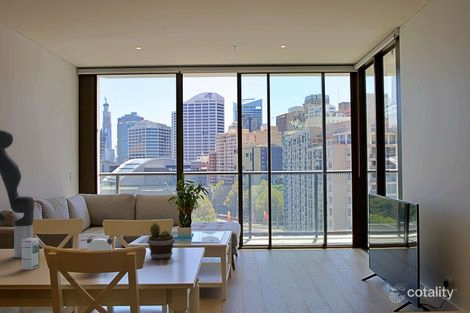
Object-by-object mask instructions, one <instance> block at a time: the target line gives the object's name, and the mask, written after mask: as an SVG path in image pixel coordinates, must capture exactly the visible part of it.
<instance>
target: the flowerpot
mask: <svg viewBox="0 0 470 313" xmlns="http://www.w3.org/2000/svg"><path fill="white" fill-rule="evenodd" d="M160 226H161V225H159V224H158V223H157V222H156V221H153V223H151V226H150V228H149V232H150V236H149V237H148V239H147V241H146V242H147V245H149V246H148V247H149V250H150V252H149V255H150V257H151V259H152V260H154V261H155V260H156V261H165V260H170V259H171V257H172V256H173V254H174V253H173V248H174V247H173V246H174V244H175V242H176V239H175V238H174V236H173V234H170V233H169V231H168V230H166V229H165V228H164V230H162V231H161V227H160Z"/></svg>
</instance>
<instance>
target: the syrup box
mask: <svg viewBox="0 0 470 313" xmlns="http://www.w3.org/2000/svg"><path fill="white" fill-rule="evenodd" d="M21 268H22V270H26V271H27V270H30V271H31V270H35V269H37V268H40V238H39V237H33V238H28V239H24V240H22V258H21Z"/></svg>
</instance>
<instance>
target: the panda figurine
mask: <svg viewBox="0 0 470 313" xmlns="http://www.w3.org/2000/svg"><path fill="white" fill-rule="evenodd" d="M113 242H114V240H113V238H112V237H109V238H108V239H107V238H99V237H98V238H94V239H93V238H91V237H90V238H87V240H86V243H87V244H88V246H87V249H86V251H87V250H112V251H113V246H112V243H113Z"/></svg>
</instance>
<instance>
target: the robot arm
mask: <svg viewBox="0 0 470 313" xmlns="http://www.w3.org/2000/svg"><path fill="white" fill-rule="evenodd" d="M13 142H14V136H13V134H12V133H11V132H10V131H7V130H3V129H0V177H1V180H2V182H3V184H4V187H5V190H6V193H7V198H8V201H9V206H10V209H11V211H12V213H16V214H23V215H22V217H21V218H19V219H18V218H17V219H16V220H14V225H13V226H14V228H13V229H14V232H13V233H14V235H13V236H14V237H13V238H14V239H13V240H14V241H13V242H14V245H13V249H14V251H13V257H14V258H18V259H22V240H24V239H28V238H34V237H33V235H34V234H33V233H34V232H33V231H34V228H33V227H34V226H33V225H34V217H35V216H34V215H35V214H34V213H35V212H34V211H35V199H34V197H32V196H30V195H29V196H28V195H27V196H23V195H22V196H20V195H19V194H18V193H19V192H18V187H19V185H20V182H21V180H22V173H21V170H20V167H19V166H18V164H17V162H16V161H15V160H14V159H13V158H12V156H11V155H10V154H8V152H7V151H6V149H8V148H9V147H11V145H12V144H13ZM6 218H7V217H5V216H4V215H3V214H2V213H1V212H0V221H1V222H4V221H5V219H6Z"/></svg>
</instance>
